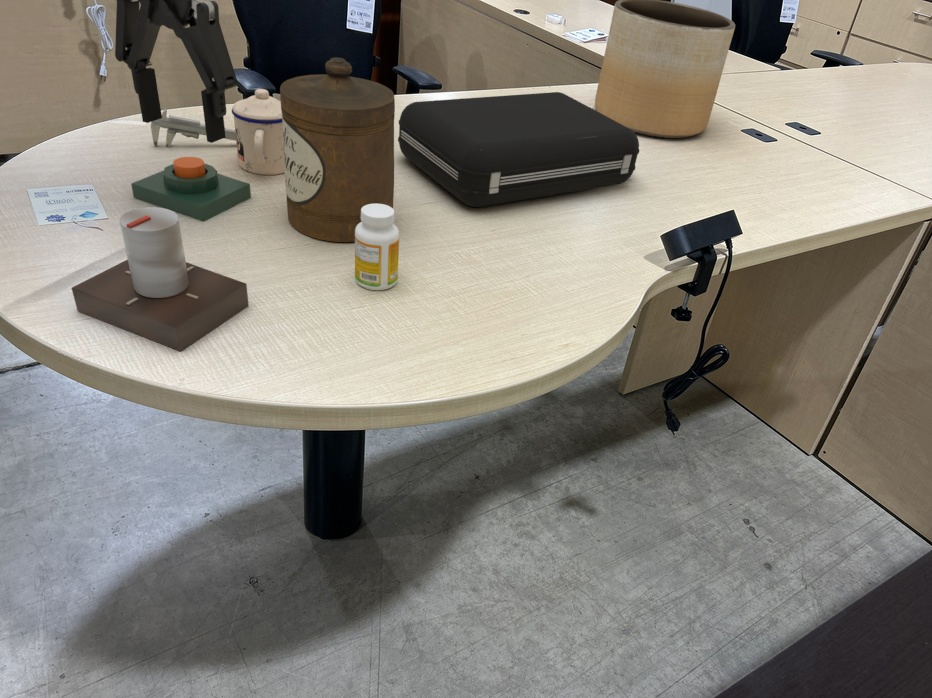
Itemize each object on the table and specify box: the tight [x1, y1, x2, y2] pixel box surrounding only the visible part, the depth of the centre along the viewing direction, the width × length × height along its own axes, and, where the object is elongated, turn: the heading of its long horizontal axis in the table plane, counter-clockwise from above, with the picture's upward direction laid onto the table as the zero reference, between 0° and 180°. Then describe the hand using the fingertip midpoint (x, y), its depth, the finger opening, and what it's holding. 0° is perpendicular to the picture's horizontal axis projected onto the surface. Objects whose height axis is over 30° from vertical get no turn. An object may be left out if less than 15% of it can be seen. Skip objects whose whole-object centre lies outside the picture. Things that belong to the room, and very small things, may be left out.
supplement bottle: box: [354, 204, 400, 291], centre depth 91 cm, size 5×5×10 cm
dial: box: [119, 206, 189, 298], centre depth 79 cm, size 6×6×8 cm
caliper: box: [150, 108, 236, 148], centre depth 119 cm, size 20×1×6 cm, turn 111°
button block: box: [130, 163, 252, 222], centre depth 104 cm, size 12×10×4 cm
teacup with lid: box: [231, 88, 285, 176], centre depth 113 cm, size 12×9×12 cm
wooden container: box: [279, 56, 396, 243], centre depth 99 cm, size 15×15×22 cm
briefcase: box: [397, 91, 640, 208], centre depth 128 cm, size 36×32×10 cm
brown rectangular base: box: [71, 258, 249, 352], centre depth 82 cm, size 14×11×3 cm
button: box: [172, 156, 206, 178], centre depth 103 cm, size 4×4×2 cm
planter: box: [594, 0, 736, 139], centre depth 157 cm, size 25×25×22 cm
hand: (184, 129), depth 99 cm, fingers open, 10 cm apart
